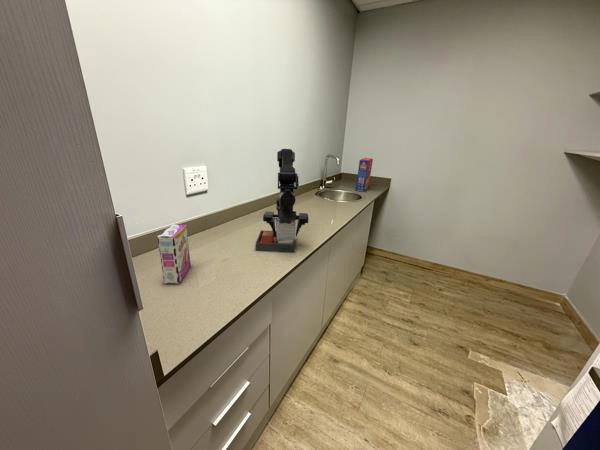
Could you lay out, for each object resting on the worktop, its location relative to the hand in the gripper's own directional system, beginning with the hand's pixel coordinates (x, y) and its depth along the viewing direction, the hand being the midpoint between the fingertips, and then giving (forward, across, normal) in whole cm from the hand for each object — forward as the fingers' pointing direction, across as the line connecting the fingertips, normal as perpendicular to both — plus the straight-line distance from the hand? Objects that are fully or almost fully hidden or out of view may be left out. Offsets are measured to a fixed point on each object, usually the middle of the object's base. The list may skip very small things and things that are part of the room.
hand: (285, 235), depth 105 cm
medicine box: (+2, 0, 0) cm, 2 cm away
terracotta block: (+4, -8, +2) cm, 9 cm away
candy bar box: (+6, -34, -26) cm, 43 cm away
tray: (+5, -4, +2) cm, 7 cm away
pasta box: (+4, +68, +136) cm, 152 cm away
